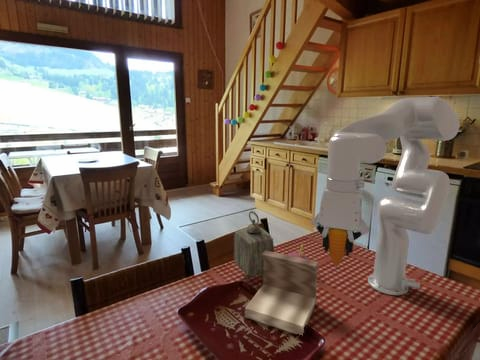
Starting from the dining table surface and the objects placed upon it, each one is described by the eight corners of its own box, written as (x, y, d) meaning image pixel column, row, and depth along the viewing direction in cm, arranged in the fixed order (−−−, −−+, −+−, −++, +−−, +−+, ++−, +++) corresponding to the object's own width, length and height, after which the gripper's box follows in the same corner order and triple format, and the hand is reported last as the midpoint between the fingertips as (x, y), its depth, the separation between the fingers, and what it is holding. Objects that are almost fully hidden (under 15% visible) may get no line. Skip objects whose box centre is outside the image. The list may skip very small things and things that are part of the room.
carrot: (347, 272, 77) (351, 217, 74) (327, 270, 78) (330, 215, 75) (344, 262, 82) (348, 210, 79) (325, 261, 83) (329, 209, 80)
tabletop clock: (273, 285, 104) (275, 216, 98) (249, 291, 100) (250, 220, 94) (253, 266, 116) (254, 204, 111) (232, 271, 113) (232, 207, 107)
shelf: (315, 304, 93) (318, 261, 90) (302, 336, 80) (305, 286, 77) (264, 289, 101) (265, 249, 98) (245, 317, 87) (245, 271, 84)
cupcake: (311, 269, 114) (312, 240, 112) (303, 279, 107) (304, 248, 105) (290, 263, 119) (291, 235, 116) (281, 272, 112) (282, 242, 109)
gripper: (379, 185, 75) (372, 252, 79) (311, 179, 82) (308, 240, 86) (378, 192, 68) (371, 265, 72) (304, 184, 76) (301, 251, 80)
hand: (337, 251), depth 79 cm, fingers closed on carrot, 4 cm apart
